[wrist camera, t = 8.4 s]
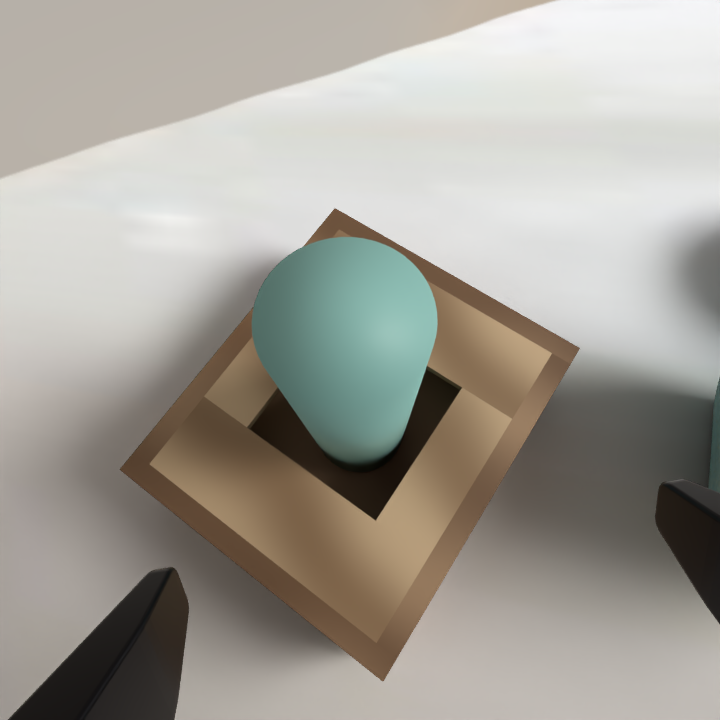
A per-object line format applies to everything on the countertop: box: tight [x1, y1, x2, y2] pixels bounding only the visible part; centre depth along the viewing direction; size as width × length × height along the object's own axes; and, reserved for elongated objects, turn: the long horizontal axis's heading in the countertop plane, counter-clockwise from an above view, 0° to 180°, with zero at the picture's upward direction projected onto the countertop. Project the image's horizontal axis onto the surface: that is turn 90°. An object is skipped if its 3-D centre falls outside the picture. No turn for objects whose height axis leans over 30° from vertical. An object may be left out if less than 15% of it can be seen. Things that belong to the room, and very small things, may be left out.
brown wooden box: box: [120, 209, 580, 681], centre depth 21 cm, size 14×12×4 cm
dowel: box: [252, 237, 438, 472], centre depth 17 cm, size 4×4×13 cm
